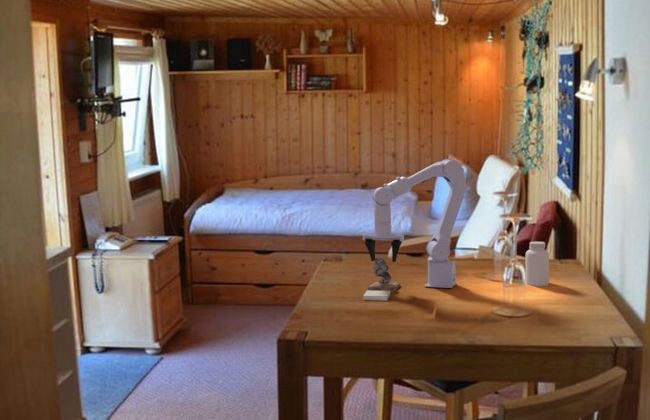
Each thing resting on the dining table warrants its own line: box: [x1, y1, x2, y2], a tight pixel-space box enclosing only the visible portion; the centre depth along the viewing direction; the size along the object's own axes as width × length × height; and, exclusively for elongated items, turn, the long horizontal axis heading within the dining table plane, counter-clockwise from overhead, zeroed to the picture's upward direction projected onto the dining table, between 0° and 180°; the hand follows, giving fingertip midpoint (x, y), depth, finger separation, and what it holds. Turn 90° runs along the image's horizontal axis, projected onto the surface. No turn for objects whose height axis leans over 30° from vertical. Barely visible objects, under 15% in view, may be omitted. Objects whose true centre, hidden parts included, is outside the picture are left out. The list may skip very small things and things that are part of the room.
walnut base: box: [367, 281, 401, 294], centre depth 276 cm, size 9×9×2 cm
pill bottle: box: [525, 241, 550, 287], centre depth 277 cm, size 8×8×15 cm
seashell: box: [372, 256, 392, 284], centre depth 276 cm, size 5×5×10 cm
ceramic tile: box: [362, 289, 391, 302], centre depth 266 cm, size 8×8×2 cm
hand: (383, 261), depth 275 cm, fingers open, 7 cm apart
